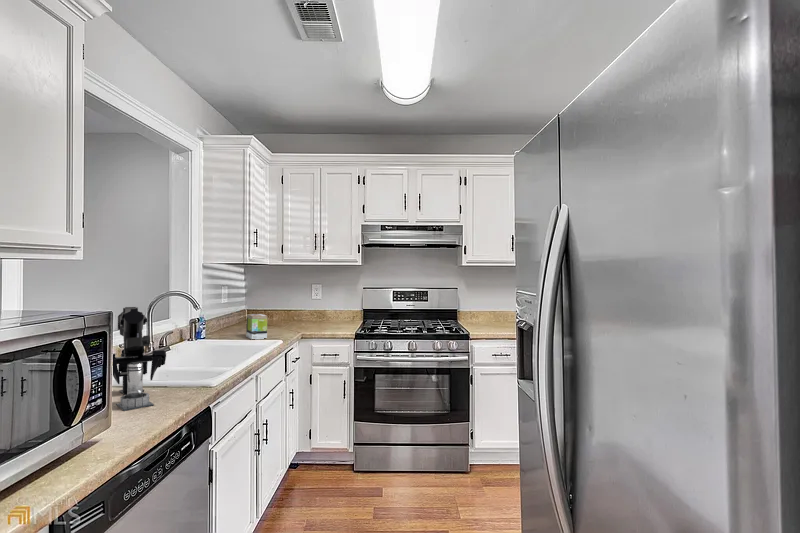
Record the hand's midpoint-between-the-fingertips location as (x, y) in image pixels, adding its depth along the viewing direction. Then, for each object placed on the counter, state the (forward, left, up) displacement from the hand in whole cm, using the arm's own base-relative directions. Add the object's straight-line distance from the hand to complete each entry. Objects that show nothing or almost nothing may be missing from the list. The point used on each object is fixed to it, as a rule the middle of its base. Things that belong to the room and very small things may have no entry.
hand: (135, 381), depth 154 cm
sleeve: (-1, 0, -8) cm, 8 cm away
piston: (-1, 0, -8) cm, 8 cm away
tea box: (-110, +100, -8) cm, 149 cm away
